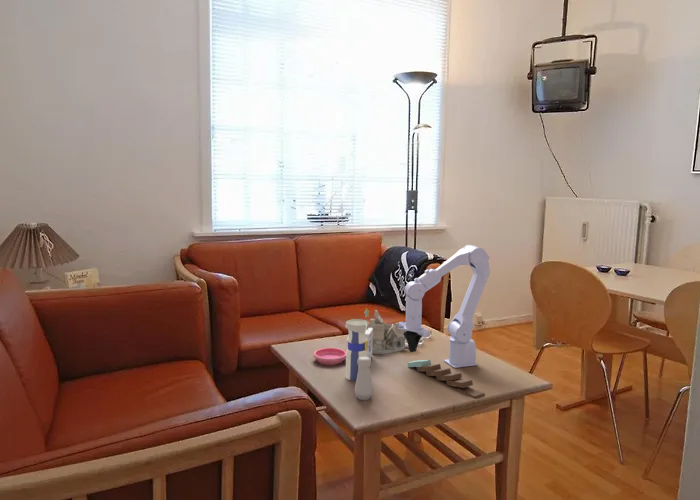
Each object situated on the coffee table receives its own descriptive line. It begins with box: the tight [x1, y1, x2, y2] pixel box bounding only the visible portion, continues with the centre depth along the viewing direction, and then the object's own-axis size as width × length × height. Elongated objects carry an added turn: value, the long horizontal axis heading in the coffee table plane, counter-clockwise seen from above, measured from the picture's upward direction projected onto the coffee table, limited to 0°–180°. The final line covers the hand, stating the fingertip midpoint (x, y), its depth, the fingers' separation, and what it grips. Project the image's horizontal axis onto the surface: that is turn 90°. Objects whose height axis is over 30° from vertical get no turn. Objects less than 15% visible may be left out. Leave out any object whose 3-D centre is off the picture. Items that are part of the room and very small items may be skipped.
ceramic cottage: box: [369, 309, 406, 355], centre depth 213 cm, size 16×16×15 cm
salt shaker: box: [354, 357, 374, 401], centre depth 166 cm, size 6×6×13 cm
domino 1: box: [407, 359, 432, 368], centre depth 191 cm, size 2×4×8 cm
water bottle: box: [344, 307, 370, 382], centre depth 182 cm, size 8×9×25 cm
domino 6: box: [457, 386, 486, 399], centre depth 171 cm, size 2×4×8 cm
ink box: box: [365, 328, 373, 360], centre depth 199 cm, size 9×5×12 cm, turn 168°
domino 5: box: [445, 378, 474, 388], centre depth 175 cm, size 2×4×8 cm
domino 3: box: [425, 367, 452, 377], centre depth 183 cm, size 2×4×8 cm
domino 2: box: [416, 363, 442, 372], centre depth 187 cm, size 2×4×8 cm
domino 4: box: [435, 372, 463, 381], centre depth 179 cm, size 2×4×8 cm
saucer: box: [313, 347, 347, 366], centre depth 199 cm, size 12×12×3 cm
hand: (412, 351), depth 194 cm, fingers closed
